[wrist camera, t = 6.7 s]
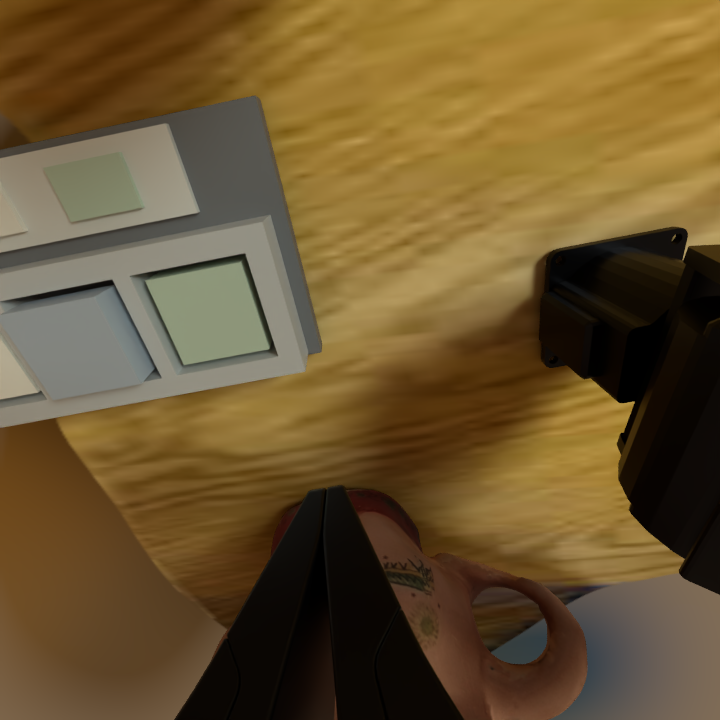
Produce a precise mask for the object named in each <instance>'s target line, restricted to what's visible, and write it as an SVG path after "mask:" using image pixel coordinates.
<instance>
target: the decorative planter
mask: <svg viewBox="0 0 720 720" xmlns="http://www.w3.org/2000/svg"><path fill="white" fill-rule="evenodd" d="M346 491H347V493H348V495H349V497H350V499H351V501H352V503H353V505H354V508H355V510H356V512H357V514H358V516H359V518H360V520H361V522H362V525H363V527H364V529H365V531H366V533H367V535H368V537H369V539H370V542H371V544H372V546H373V548H374V550H375V552H376V554H377V556H378V558H379V561H380V563H381V565H382V567H383V569H384V571H385V573H386V575H387V578H388V580H389V582H390V584H391V586H392V588H393V590H394V592H395V595H396V597H397V599H398V601H399V603H400V605H401V608H402V610H403V611H404V613H405V615H406V617H407V620H408V622H409V624H410V626H411V628H412V630H413V632H414V634H415V636H416V638H417V640H418V642H419V644H420V646H421V648H422V650H423V652H424V654H425V656H426V657H427V659H428V661H429V662H430V664H431V666H432V667H433V669H434V671H435V673H436V674H437V676H438V678H439V679H440V681H441V683H442V684H443V686H444V688H445V689H446V691H447V692H448V694H449V696H450V697H451V699H452V700H453V702H454V703H455V705H456V707H457V708H458V710H459V711H460V713H461V715H462V716H463V718H464V719H465V720H548V719H551V718H553V717H555V716H557V715H559V714H560V713H562V712H563V711H565V710H566V709H567V708H568V707H569V706H570V705H571V704H572V703H573V702H574V701H575V699H576V698H577V697H578V695H579V694H580V692H581V691H582V688H583V686H584V683H585V680H586V675H587V649H586V641H585V637H584V633H583V631H582V629H581V627H580V625H579V623H578V622H577V621H576V619H575V618H574V617H573V615H572V614H571V613H570V612H569V610H568V609H567V607H566V606H565V605H564V604H563V603H562V602H561V601H560V600H559V599H558V598H557V597H556V596H555V595H554V594H553V593H552V592H551V591H549V590H548V589H547V588H546V587H545V586H543V585H542V584H540V583H538V582H535V581H532V580H529V579H526V578H522V577H521V578H519V577H516V576H514V575H511V574H509V573H506V572H503V571H500V570H497V569H494V568H492V567H489V566H487V565H484V564H481V563H478V562H475V561H471V560H467V559H463V558H460V557H457V556H454V555H451V554H448V553H439V554H437V555H436V556H434V557H427V556H425V555H424V554H423V552H422V548H421V545H420V540H419V533H418V530H417V528H416V526H415V524H414V523H413V521H412V520H411V519H410V517H409V516H408V514H407V513H406V512H405V511H404V510H403V508H402V507H401V506H400V505H399V504H398V503H397V502H396V501H395V500H394V499H392V498H391V497H389V496H388V495H386V494H384V493H381V492H377V491H374V490H362V489H355V490H346ZM300 505H301V504H300ZM300 505H298V506H295V507H293V508H291V509H290V510H288V511H287V512H286V513H285V514H284V516H283V517H282V519H281V521H280V523H279V524H278V526H277V529H276V531H275V534H274V538H273V544H272V551H271V556H272V554H273V553H274V551H275V549H276V547H277V546H278V544H279V542H280V540H281V539H282V537H283V535H284V533H285V532H286V530H287V528H288V526H289V525H290V523H291V521H292V519H293V518H294V516H295V514H296V512H297V511H298V509H299V507H300ZM490 587H505V588H509V589H513V590H516V591H518V592H520V593H522V594H524V595H525V596H527V597H528V598H529V599H531V600H532V601H534V602H535V603H536V604H538V605H539V608H540V611H541V612H542V614H543V615H544V618H545V621H546V623H547V645H546V648H545V650H544V651H543V653H542V654H541V655H540V656H539V657H538V658H537V659H536V660H534V661H532V662H530V663H527V664H510V663H507V662H504V661H501V660H499V659H498V658H496V657H495V656H494V655H492V654H491V652H490V651H489V650H488V649H487V648H486V647H485V645H484V644H483V642H482V640H481V638H480V635H479V632H478V630H477V626H476V623H475V619H474V616H473V613H472V609H471V605H472V603H473V601H474V599H475V598H476V597H477V596H478V595H479V594H480V593H481V591H483V590H485V589H487V588H490ZM231 626H232V625H231ZM231 626H230V628H231ZM230 628H229V629H230ZM229 629H228V630H227V632H226V633H225V635H224V636H223V637H222V639H221V641H220V643H219V644H218V646H217V649H216V651H215V653H216V652H217V650H218V648H219V646H220V645H221V643H222V641H223V639H225V638H227V633H228V631H229ZM215 653H214V655H215ZM214 655H213V657H214ZM213 657H212V659H213ZM334 720H337V708H336V696H335V716H334Z"/></svg>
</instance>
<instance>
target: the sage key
mask: <svg viewBox="0 0 720 720" xmlns="http://www.w3.org/2000/svg"><path fill="white" fill-rule="evenodd" d="M145 282H146V284H147V286H148V288H149V290H150V292H151V295H152V297H153V299H154V301H155V303H156V305H157V308H158V310H159V312H160V314H161V316H162V319H163V321H164V323H165V325H166V327H167V329H168V332H169V334H170V336H171V338H172V340H173V342H174V345H175V347H176V349H177V351H178V353H179V355H180V358H181V360H182V362H183V364H184V365H188V364H193V363H198V362H204V361H209V360H214V359H220V358H225V357H230V356H236V355H241V354H246V353H252V352H257V351H262V350H268V349H270V346H271V343H272V340H273V338H272V335H271V332H270V329H269V326H268V323H267V320H266V316H265V313H264V310H263V307H262V304H261V301H260V298H259V295H258V291H257V288H256V285H255V282H254V279H253V276H252V273H251V270H250V267H249V263H248V260H247V257H246V254H242V255H237V256H232V257H227V258H222V259H217V260H212V261H207V262H202V263H197V264H192V265H187V266H182V267H177V268H171V269H166V270H161V271H160V272H158V273H157V274H155V275H153V276H152V277H150V278H149V279H147V280H146V281H145Z"/></svg>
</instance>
